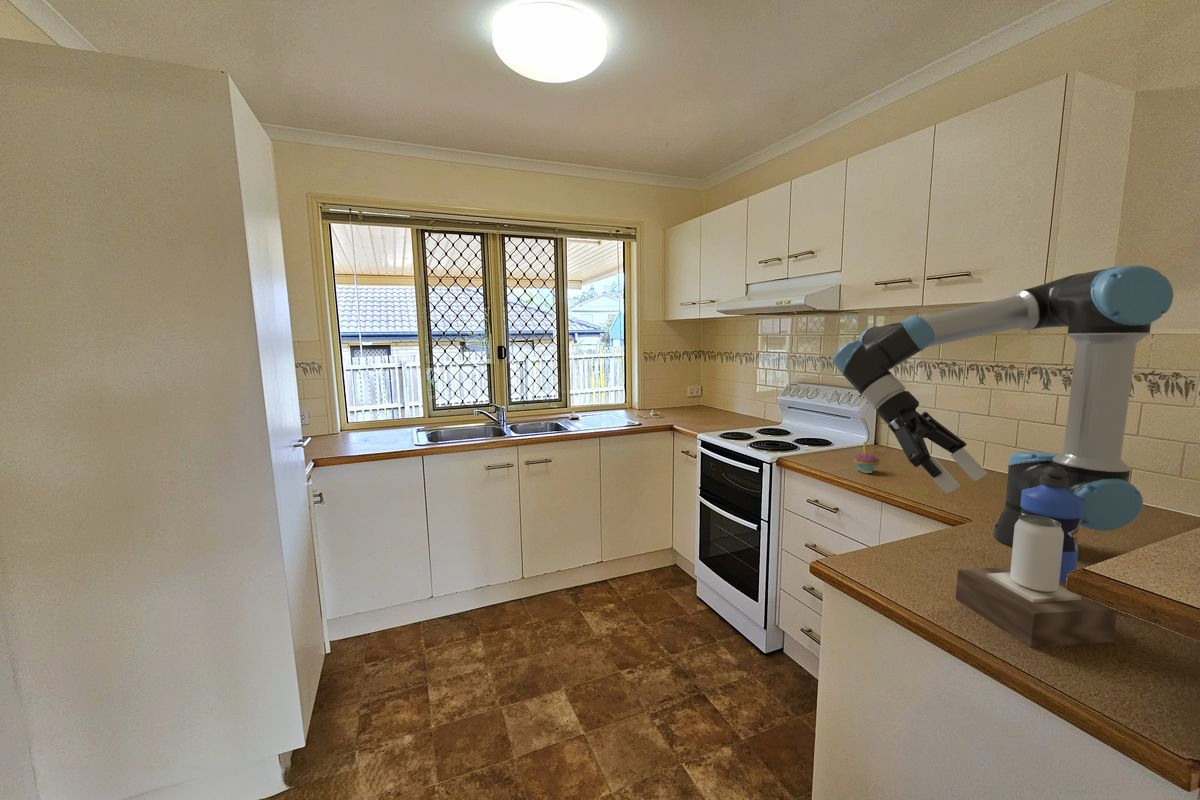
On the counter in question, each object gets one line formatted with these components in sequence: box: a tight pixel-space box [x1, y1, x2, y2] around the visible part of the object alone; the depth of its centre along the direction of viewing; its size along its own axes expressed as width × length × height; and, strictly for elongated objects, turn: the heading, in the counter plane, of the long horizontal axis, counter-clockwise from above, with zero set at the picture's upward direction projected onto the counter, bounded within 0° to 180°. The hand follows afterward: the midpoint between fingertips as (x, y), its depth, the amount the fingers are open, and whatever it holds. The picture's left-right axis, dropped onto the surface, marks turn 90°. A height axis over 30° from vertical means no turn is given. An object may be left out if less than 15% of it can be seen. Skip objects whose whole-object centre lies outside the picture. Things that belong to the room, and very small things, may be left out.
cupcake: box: [853, 442, 880, 472], centre depth 180 cm, size 9×8×12 cm
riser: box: [955, 566, 1118, 649], centre depth 85 cm, size 15×15×7 cm
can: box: [1010, 515, 1064, 592], centre depth 84 cm, size 6×6×12 cm
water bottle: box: [1020, 466, 1085, 583], centre depth 96 cm, size 9×9×25 cm
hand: (968, 483), depth 92 cm, fingers open, 13 cm apart
